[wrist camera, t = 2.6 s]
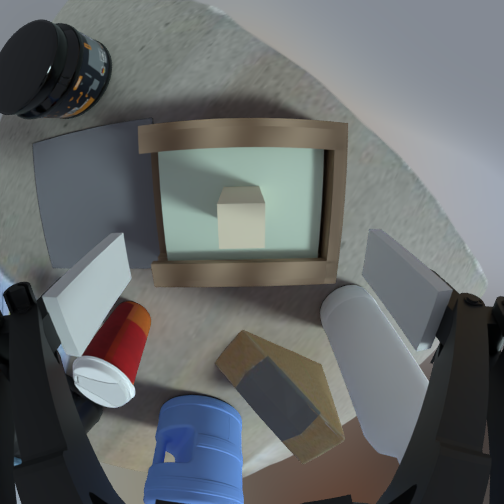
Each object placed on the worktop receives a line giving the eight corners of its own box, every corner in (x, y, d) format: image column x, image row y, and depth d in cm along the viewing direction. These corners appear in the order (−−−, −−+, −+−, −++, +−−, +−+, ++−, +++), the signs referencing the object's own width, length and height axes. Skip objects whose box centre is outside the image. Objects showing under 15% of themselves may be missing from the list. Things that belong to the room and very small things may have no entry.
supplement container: (47, 126, 26) (-17, 132, 15) (51, 54, 22) (-6, 39, 11) (114, 110, 26) (55, 103, 15) (118, 32, 22) (69, -3, 11)
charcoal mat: (54, 266, 34) (52, 268, 33) (34, 143, 27) (32, 144, 26) (164, 266, 34) (163, 268, 34) (152, 118, 27) (151, 118, 27)
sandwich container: (242, 326, 38) (243, 415, 24) (323, 363, 42) (347, 439, 28) (212, 362, 41) (205, 445, 27) (290, 393, 44) (303, 466, 31)
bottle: (309, 301, 37) (386, 529, 9) (361, 273, 36) (491, 472, 8) (330, 338, 40) (396, 528, 12) (376, 313, 38) (474, 487, 11)
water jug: (255, 405, 45) (264, 549, 19) (224, 440, 51) (223, 554, 25) (170, 382, 42) (142, 535, 17) (154, 422, 48) (132, 539, 22)
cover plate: (170, 265, 29) (150, 307, 21) (159, 137, 24) (128, 138, 16) (314, 263, 29) (336, 303, 22) (321, 135, 24) (352, 134, 17)
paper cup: (107, 327, 38) (71, 393, 25) (112, 286, 35) (65, 353, 22) (154, 344, 39) (130, 418, 26) (164, 306, 36) (135, 382, 23)
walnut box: (170, 257, 34) (154, 287, 27) (160, 128, 28) (137, 126, 21) (317, 254, 34) (335, 283, 27) (324, 126, 28) (348, 123, 21)
